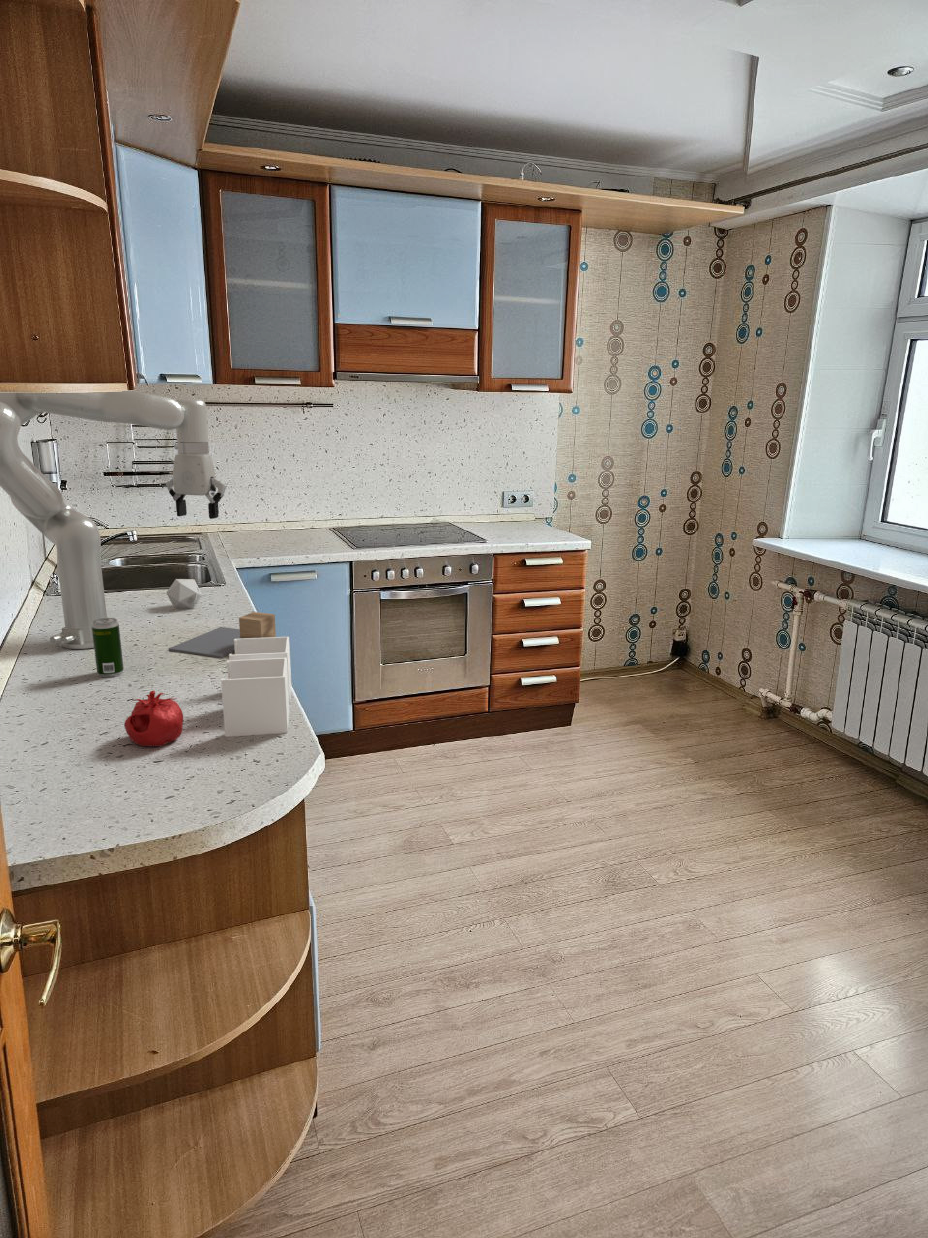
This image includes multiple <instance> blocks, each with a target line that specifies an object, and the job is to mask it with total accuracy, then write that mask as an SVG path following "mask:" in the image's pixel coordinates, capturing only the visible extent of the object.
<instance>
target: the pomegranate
mask: <svg viewBox="0 0 928 1238" xmlns="http://www.w3.org/2000/svg"><path fill="white" fill-rule="evenodd" d="M162 695H165V693H164V692H160V693H158V694H157V695H156V691H155V690H151V691H150V692H149V693H148V694H146V695H145V696H146V697H147V698H145V699H141V698H137V699H134V700H133V699H131V702H133V701H134V702H135V701H136V703H135V706H134V707H133V709H132V711H131V714H130V716H128V717H127V718H126V719H125V721H124V723H123V726H124V727H123V728H124V730H125V732H126V734H127V735H128V738H129V740H131V741H132V742H134V743H135V744H137V745H139V746H143V747H162V746H165V745H166V744H168V743H171V742H174V741H176V740H178V738H180V736H181V735H182V732H183V725H184V724H183V722H184V713H183V711H182V709H181V707H180V704H178V703H177V702H176V701H175V700H177V699H178V698H177V697H176V698H173V697H170V698H160V697H161V696H162Z"/></svg>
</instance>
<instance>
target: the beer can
mask: <svg viewBox="0 0 928 1238" xmlns="http://www.w3.org/2000/svg"><path fill="white" fill-rule="evenodd" d="M92 624H93V625H92V635H93V643H94V648H93V650H94V656H95V658H94V659H95V667H96V668H95V669H96V673H97V674H98V676H99V677H101V678H114V677H117V676H120V675H122V674H123V672H124V660H123V659H124V658H123V652H122V642H121V634H120V632H121V631H120V624H119V622H118V618H114V617H107V618H101V619H96V620H94V621H92Z"/></svg>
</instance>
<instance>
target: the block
mask: <svg viewBox="0 0 928 1238" xmlns="http://www.w3.org/2000/svg"><path fill="white" fill-rule="evenodd" d="M238 623H239V624H238V626H239V629H240V639H244V638H268V637H277V631H276V614H274V613H267V612H258V611H252V612H250V613H248V614H245V615H242V616H240V617H239V618H238Z"/></svg>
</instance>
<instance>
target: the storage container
mask: <svg viewBox="0 0 928 1238" xmlns="http://www.w3.org/2000/svg"><path fill="white" fill-rule="evenodd" d="M234 649H235V652H234V654H233V653H231V654H228V659H229V660H228V659H227V661H226V668H227V670H226V671H227V678H225V677H222V678H221V680H220V682H221V698H222V707H223V708H222V709H223V723H224V735H225V737H244V736H257V735H273V734H274V735H275V734H288V733H289V723H290V721H289V720H290V705H291V696H292V695H291V694H292V674H291V673H292V671H291V652H290V651H291V649H290V636H276V637H268V638H244V639H234Z"/></svg>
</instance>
